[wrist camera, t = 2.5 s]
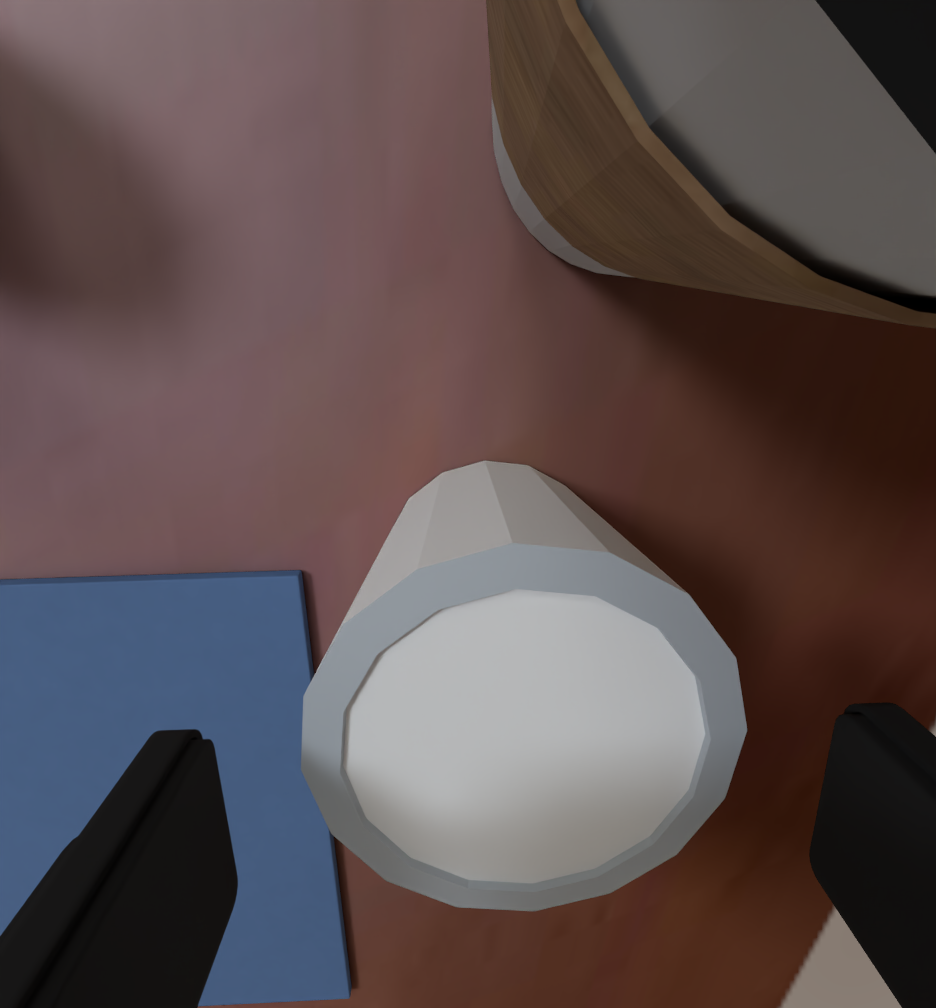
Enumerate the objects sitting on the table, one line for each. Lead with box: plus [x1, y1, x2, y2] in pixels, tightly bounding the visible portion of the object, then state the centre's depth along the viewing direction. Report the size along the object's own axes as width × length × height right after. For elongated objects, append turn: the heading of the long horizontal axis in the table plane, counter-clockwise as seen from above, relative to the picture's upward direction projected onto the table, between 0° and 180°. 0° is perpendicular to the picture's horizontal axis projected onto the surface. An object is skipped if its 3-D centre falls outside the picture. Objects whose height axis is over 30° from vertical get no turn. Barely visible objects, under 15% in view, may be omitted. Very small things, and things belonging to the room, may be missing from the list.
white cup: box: [301, 461, 747, 911], centre depth 12 cm, size 7×7×7 cm
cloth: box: [0, 570, 351, 1006], centre depth 17 cm, size 16×14×1 cm
